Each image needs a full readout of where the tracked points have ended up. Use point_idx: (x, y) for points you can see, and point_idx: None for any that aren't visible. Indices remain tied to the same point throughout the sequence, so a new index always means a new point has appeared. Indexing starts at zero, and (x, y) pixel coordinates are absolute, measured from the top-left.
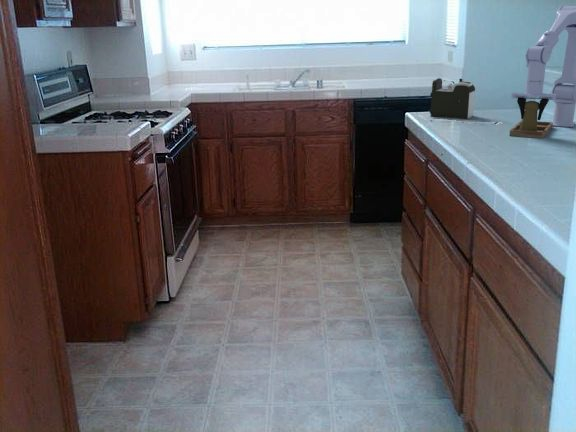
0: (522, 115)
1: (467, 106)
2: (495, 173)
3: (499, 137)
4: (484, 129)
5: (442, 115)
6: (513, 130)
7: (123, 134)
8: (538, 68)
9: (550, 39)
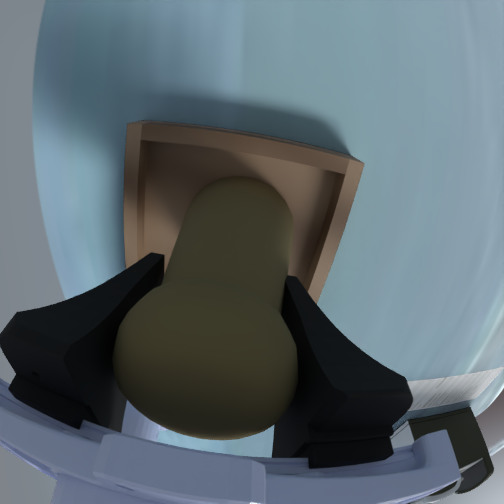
0: (296, 290)
1: None
2: None
3: (408, 95)
4: (431, 301)
5: (453, 415)
6: (342, 156)
7: None
8: None
9: None
